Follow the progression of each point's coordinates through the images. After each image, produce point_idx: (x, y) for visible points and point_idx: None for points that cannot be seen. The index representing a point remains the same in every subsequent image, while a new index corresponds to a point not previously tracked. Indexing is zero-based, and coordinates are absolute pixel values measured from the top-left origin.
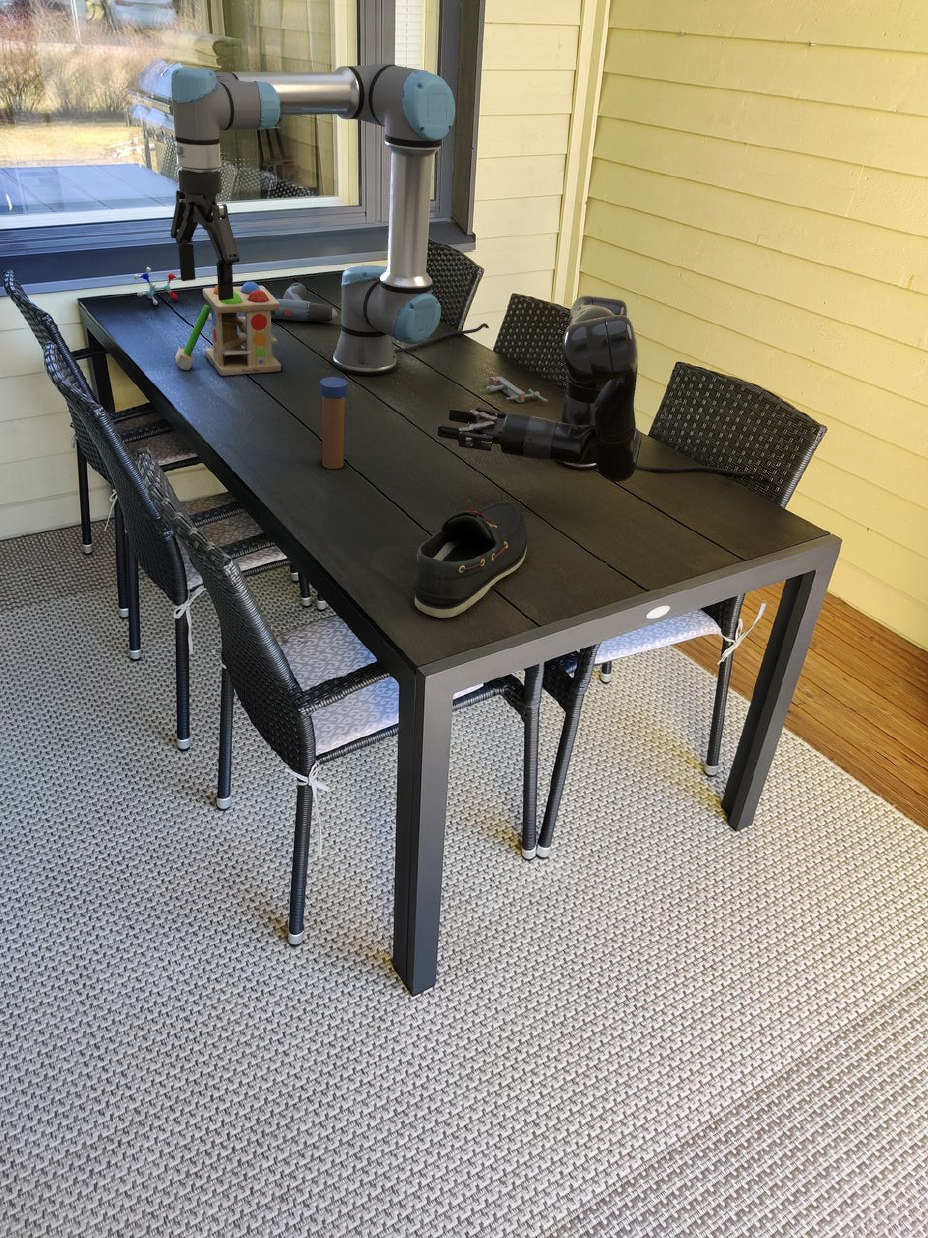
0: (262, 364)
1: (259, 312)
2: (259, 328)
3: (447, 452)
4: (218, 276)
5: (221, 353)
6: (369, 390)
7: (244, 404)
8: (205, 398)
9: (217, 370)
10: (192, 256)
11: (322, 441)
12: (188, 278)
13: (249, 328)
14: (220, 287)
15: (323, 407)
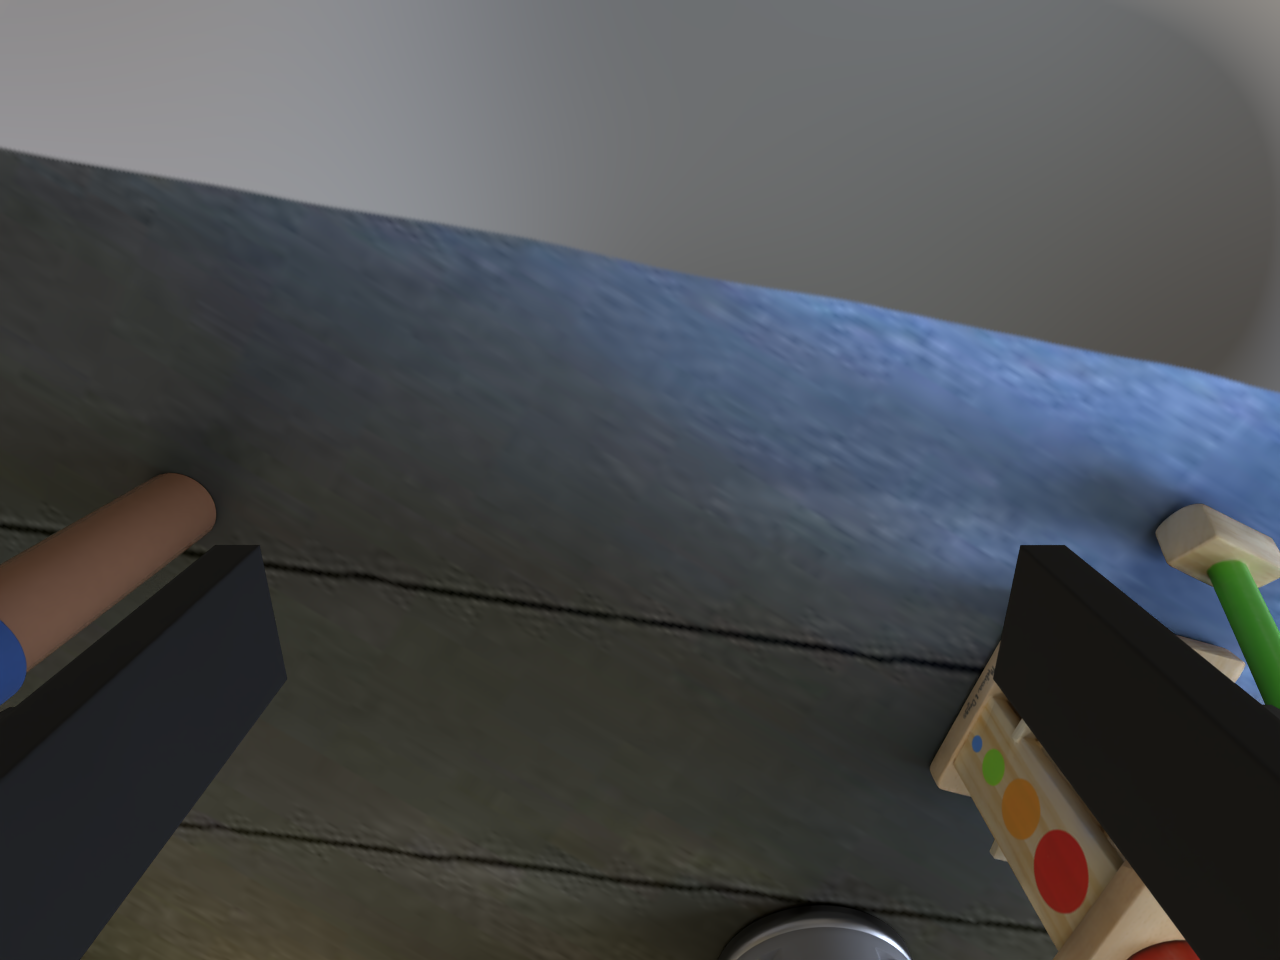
0: (969, 740)
1: (1082, 912)
2: (1043, 846)
3: None
4: (41, 708)
5: None
6: (636, 885)
7: (762, 531)
8: (894, 446)
9: None
10: (1154, 870)
11: (126, 509)
12: (1016, 617)
13: (1066, 816)
14: (121, 624)
15: (3, 573)
